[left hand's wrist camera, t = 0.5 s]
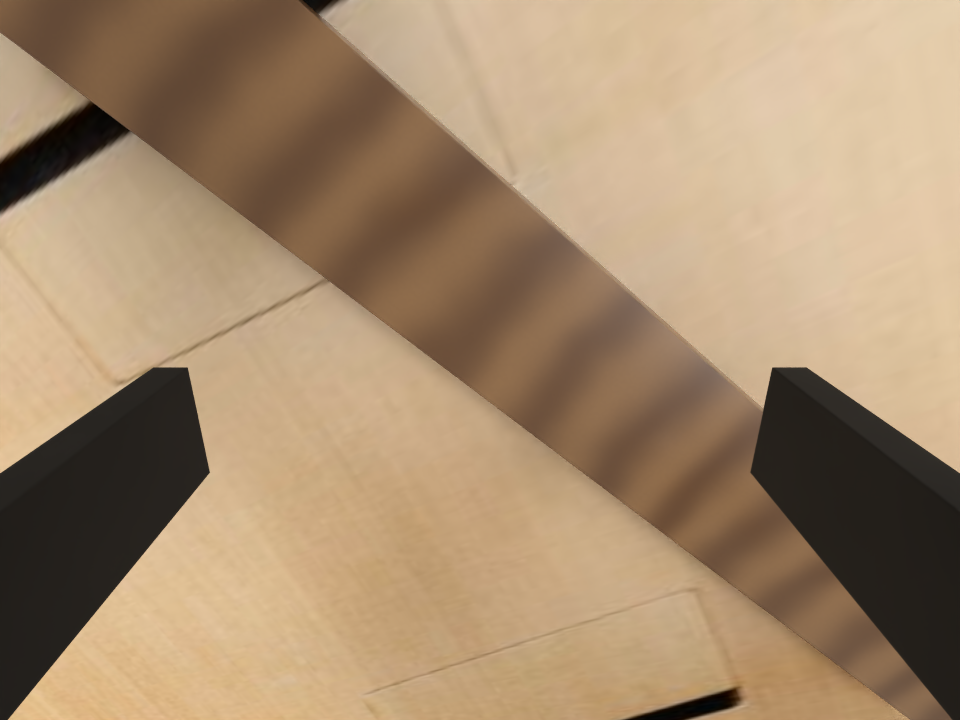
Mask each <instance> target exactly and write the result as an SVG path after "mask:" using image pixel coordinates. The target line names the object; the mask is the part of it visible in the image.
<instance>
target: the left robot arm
mask: <svg viewBox="0 0 960 720" xmlns="http://www.w3.org/2000/svg"><path fill="white" fill-rule="evenodd" d="M209 473H210V471H209V466H208V462H207V457H206V452H205V448H204V443H203V438H202V433H201V429H200V424H199V419H198V414H197V410H196V405H195V400H194V395H193V391H192V386H191V381H190V377H189V372H188V368H152V369H151V370H149V371H148V372H146V373H145V374H143V375H142V376H141V377H139V378H138V379H136V380H135V381H133V382H132V383H130V384H129V385H128V386H126V387H125V388H123V389H122V390H120V391H119V392H117V393H116V394H115V395H113V396H112V397H110V398H109V399H107V400H106V401H104V402H103V403H101V404H100V405H99V406H97V407H96V408H94V409H93V410H91V411H90V412H88V413H87V414H86V415H84V416H83V417H81V418H80V419H78V420H77V421H75V422H74V423H73V424H71V425H70V426H68V427H67V428H65V429H64V430H62V431H61V432H60V433H58V434H57V435H55V436H54V437H52V438H51V439H49V440H48V441H46V442H45V443H44V444H42V445H41V446H39V447H38V448H36V449H35V450H33V451H32V452H31V453H29V454H28V455H26V456H25V457H23V458H22V459H20V460H19V461H18V462H16V463H15V464H13V465H12V466H10V467H9V468H7V469H6V470H5V471H3V472H2V473H0V720H8V719H9V718H10V716H11V715H12V714H13V713H14V711H15V710H16V709H17V708H18V707H19V705H20V704H21V703H22V702H23V700H24V699H25V698H26V697H27V696H28V694H29V693H30V692H31V691H32V689H33V688H34V687H35V686H36V685H37V683H38V682H39V681H40V680H41V678H42V677H43V676H44V675H45V674H46V672H47V671H48V670H49V669H50V667H51V666H52V665H53V664H54V663H55V661H56V660H57V659H58V658H59V656H60V655H61V654H62V653H63V652H64V650H65V649H66V648H67V647H68V645H69V644H70V643H71V642H72V640H73V639H74V638H75V637H76V636H77V634H78V633H79V632H80V631H81V629H82V628H83V627H84V626H85V625H86V623H87V622H88V621H89V620H90V618H91V617H92V616H93V615H94V614H95V612H96V611H97V610H98V609H99V607H100V606H101V605H102V604H103V603H104V601H105V600H106V599H107V598H108V596H109V595H110V594H111V593H112V592H113V590H114V589H115V588H116V587H117V585H118V584H119V583H120V582H121V581H122V579H123V578H124V577H125V576H126V574H127V573H128V572H129V571H130V570H131V568H132V567H133V566H134V565H135V563H136V562H137V561H138V560H139V559H140V557H141V556H142V555H143V554H144V552H145V551H146V550H147V549H148V548H149V546H150V545H151V544H152V543H153V541H154V540H155V539H156V538H157V537H158V535H159V534H160V533H161V532H162V530H163V529H164V528H165V527H166V526H167V524H168V523H169V522H170V521H171V519H172V518H173V517H174V516H175V514H176V513H177V512H178V511H179V510H180V508H181V507H182V506H183V505H184V503H185V502H186V501H187V500H188V499H189V497H190V496H191V495H192V494H193V492H194V491H195V490H196V489H197V488H198V486H199V485H200V484H201V483H202V481H203V480H204V479H205V478H206V477H207V475H208V474H209ZM750 473H751V474H752V475H753V477H754V478H755V479H756V480H757V481H758V483H759V484H760V485H761V486H762V488H763V489H764V490H765V491H766V492H767V494H768V495H769V496H770V497H771V499H772V500H773V501H774V502H775V503H776V505H777V506H778V507H779V508H780V510H781V511H782V512H783V513H784V515H785V516H786V517H787V518H788V519H789V521H790V522H791V523H792V524H793V526H794V527H795V528H796V529H797V530H798V532H799V533H800V534H801V535H802V537H803V538H804V539H805V540H806V541H807V543H808V544H809V545H810V546H811V548H812V549H813V550H814V551H815V552H816V554H817V555H818V556H819V557H820V559H821V560H822V561H823V562H824V563H825V565H826V566H827V567H828V568H829V570H830V571H831V572H832V573H833V574H834V576H835V577H836V578H837V579H838V581H839V582H840V583H841V584H842V585H843V587H844V588H845V589H846V590H847V592H848V593H849V594H850V595H851V596H852V598H853V599H854V600H855V601H856V603H857V604H858V605H859V606H860V607H861V609H862V610H863V611H864V612H865V614H866V615H867V616H868V617H869V618H870V620H871V621H872V622H873V623H874V625H875V626H876V627H877V628H878V629H879V631H880V632H881V633H882V634H883V636H884V637H885V638H886V639H887V640H888V642H889V643H890V644H891V645H892V647H893V648H894V649H895V650H896V652H897V653H898V654H899V655H900V656H901V658H902V659H903V660H904V661H905V663H906V664H907V665H908V666H909V667H910V669H911V670H912V671H913V672H914V674H915V675H916V676H917V677H918V678H919V680H920V681H921V682H922V683H923V685H924V686H925V687H926V688H927V689H928V691H929V692H930V693H931V694H932V696H933V697H934V698H935V699H936V700H937V702H938V703H939V704H940V705H941V707H942V708H943V709H944V710H945V711H946V713H947V714H948V715H949V716H950V718H951V719H952V720H960V473H958V472H957V471H955V470H954V469H953V468H951V467H950V466H948V465H947V464H945V463H944V462H942V461H941V460H940V459H938V458H937V457H935V456H934V455H932V454H931V453H929V452H928V451H927V450H925V449H924V448H922V447H921V446H919V445H918V444H916V443H915V442H914V441H912V440H911V439H909V438H908V437H906V436H905V435H903V434H902V433H900V432H899V431H898V430H896V429H895V428H893V427H892V426H890V425H889V424H887V423H886V422H885V421H883V420H882V419H880V418H879V417H877V416H876V415H874V414H873V413H872V412H870V411H869V410H867V409H866V408H864V407H863V406H861V405H860V404H859V403H857V402H856V401H854V400H853V399H851V398H850V397H848V396H847V395H845V394H844V393H843V392H841V391H840V390H838V389H837V388H835V387H834V386H832V385H831V384H830V383H828V382H827V381H825V380H824V379H822V378H821V377H819V376H818V375H817V374H815V373H814V372H812V371H811V370H809V369H808V368H772V372H771V377H770V381H769V386H768V391H767V395H766V400H765V405H764V410H763V414H762V419H761V424H760V429H759V433H758V438H757V443H756V448H755V452H754V457H753V462H752V466H751V471H750Z"/></svg>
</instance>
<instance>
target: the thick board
mask: <svg viewBox="0 0 960 720" xmlns="http://www.w3.org/2000/svg"><path fill="white" fill-rule="evenodd" d="M0 33H2V34H3V35H4V36H6V37H7V38H8V39H10V40H11V41H12V42H14V43H15V44H16V45H18V46H19V47H20V48H22V49H23V50H24V51H26V52H27V53H28V54H30V55H31V56H32V57H34V58H35V59H36V60H37V61H39V62H40V63H41V64H43V65H44V66H45V67H47V68H48V69H49V70H51V71H52V72H53V73H55V74H56V75H57V76H59V77H60V78H61V79H63V80H64V81H65V82H67V83H68V84H69V85H71V86H72V87H73V88H75V89H76V90H77V91H79V92H80V93H81V94H83V95H84V96H85V97H86V98H88V99H89V100H90V101H92V102H93V103H94V104H96V105H97V106H98V107H100V108H101V109H102V110H104V111H105V112H106V113H108V114H109V115H110V116H112V117H113V118H114V119H116V120H117V121H118V122H120V123H121V124H122V125H124V126H125V127H126V128H128V129H129V130H130V131H131V132H133V133H134V134H135V135H137V136H138V137H139V138H141V139H142V140H143V141H145V142H146V143H147V144H149V145H150V146H151V147H153V148H154V149H155V150H157V151H158V152H159V153H161V154H162V155H163V156H165V157H166V158H167V159H169V160H170V161H171V162H173V163H174V164H175V165H177V166H178V167H179V168H180V169H182V170H183V171H184V172H186V173H187V174H188V175H190V176H191V177H192V178H194V179H195V180H196V181H198V182H199V183H200V184H202V185H203V186H204V187H206V188H207V189H208V190H210V191H211V192H212V193H214V194H215V195H216V196H218V197H219V198H220V199H222V200H223V201H224V202H226V203H227V204H228V205H229V206H231V207H232V208H233V209H235V210H236V211H237V212H239V213H240V214H241V215H243V216H244V217H245V218H247V219H248V220H249V221H251V222H252V223H253V224H255V225H256V226H257V227H259V228H260V229H261V230H263V231H264V232H265V233H267V234H268V235H269V236H271V237H272V238H273V239H274V240H276V241H277V242H278V243H280V244H281V245H282V246H284V247H285V248H286V249H288V250H289V251H290V252H292V253H293V254H294V255H296V256H297V257H298V258H300V259H301V260H302V261H304V262H305V263H306V264H308V265H309V266H310V267H312V268H313V269H314V270H316V271H317V272H318V273H320V274H321V275H322V276H323V277H325V278H326V279H327V280H329V281H330V282H331V283H333V284H334V285H335V286H337V287H338V288H339V289H341V290H342V291H343V292H345V293H346V294H347V295H349V296H350V297H351V298H353V299H354V300H355V301H357V302H358V303H359V304H361V305H362V306H363V307H365V308H366V309H367V310H369V311H370V312H371V313H372V314H374V315H375V316H376V317H378V318H379V319H380V320H382V321H383V322H384V323H386V324H387V325H388V326H390V327H391V328H392V329H394V330H395V331H396V332H398V333H399V334H400V335H402V336H403V337H404V338H406V339H407V340H408V341H410V342H411V343H412V344H414V345H415V346H416V347H417V348H419V349H420V350H421V351H423V352H424V353H425V354H427V355H428V356H429V357H431V358H432V359H433V360H435V361H436V362H437V363H439V364H440V365H441V366H443V367H444V368H445V369H447V370H448V371H449V372H451V373H452V374H453V375H455V376H456V377H457V378H459V379H460V380H461V381H463V382H464V383H465V384H466V385H468V386H469V387H470V388H472V389H473V390H474V391H476V392H477V393H478V394H480V395H481V396H482V397H484V398H485V399H486V400H488V401H489V402H490V403H492V404H493V405H494V406H496V407H497V408H498V409H500V410H501V411H502V412H504V413H505V414H506V415H508V416H509V417H510V418H512V419H513V420H514V421H515V422H517V423H518V424H519V425H521V426H522V427H523V428H525V429H526V430H527V431H529V432H530V433H531V434H533V435H534V436H535V437H537V438H538V439H539V440H541V441H542V442H543V443H545V444H546V445H547V446H549V447H550V448H551V449H553V450H554V451H555V452H557V453H558V454H559V455H560V456H562V457H563V458H564V459H566V460H567V461H568V462H570V463H571V464H572V465H574V466H575V467H576V468H578V469H579V470H580V471H582V472H583V473H584V474H586V475H587V476H588V477H590V478H591V479H592V480H594V481H595V482H596V483H598V484H599V485H600V486H602V487H603V488H604V489H606V490H607V491H608V492H609V493H611V494H612V495H613V496H615V497H616V498H617V499H619V500H620V501H621V502H623V503H624V504H625V505H627V506H628V507H629V508H631V509H632V510H633V511H635V512H636V513H637V514H639V515H640V516H641V517H643V518H644V519H645V520H647V521H648V522H649V523H651V524H652V525H653V526H654V527H656V528H657V529H658V530H660V531H661V532H662V533H664V534H665V535H666V536H668V537H669V538H670V539H672V540H673V541H674V542H676V543H677V544H678V545H680V546H681V547H682V548H684V549H685V550H686V551H688V552H689V553H690V554H692V555H693V556H694V557H696V558H697V559H698V560H700V561H701V562H702V563H703V564H705V565H706V566H707V567H709V568H710V569H711V570H713V571H714V572H715V573H717V574H718V575H719V576H721V577H722V578H723V579H725V580H726V581H727V582H729V583H730V584H731V585H733V586H734V587H735V588H737V589H738V590H739V591H741V592H742V593H743V594H745V595H746V596H747V597H749V598H750V599H751V600H752V601H754V602H755V603H756V604H758V605H759V606H760V607H762V608H763V609H764V610H766V611H767V612H768V613H770V614H771V615H772V616H774V617H775V618H776V619H778V620H779V621H780V622H782V623H783V624H784V625H786V626H787V627H788V628H790V629H791V630H792V631H794V632H795V633H796V634H797V635H799V636H800V637H801V638H803V639H804V640H805V641H807V642H808V643H809V644H811V645H812V646H813V647H815V648H816V649H817V650H819V651H820V652H821V653H823V654H824V655H825V656H827V657H828V658H829V659H831V660H832V661H833V662H835V663H836V664H837V665H839V666H840V667H841V668H843V669H844V670H845V671H846V672H848V673H849V674H850V675H852V676H853V677H854V678H856V679H857V680H858V681H860V682H861V683H862V684H864V685H865V686H866V687H868V688H869V689H870V690H872V691H873V692H874V693H876V694H877V695H878V696H880V697H881V698H882V699H884V700H885V701H886V702H888V703H889V704H890V705H892V706H893V707H894V708H895V709H897V710H898V711H899V712H901V713H902V714H903V715H905V716H906V717H907V718H909V719H910V720H952V719H951V718H950V716H949V715H948V714H947V713H946V711H945V710H944V709H943V708H942V707H941V705H940V704H939V703H938V702H937V700H936V699H935V698H934V697H933V696H932V694H931V693H930V692H929V691H928V689H927V688H926V687H925V686H924V685H923V683H922V682H921V681H920V680H919V678H918V677H917V676H916V675H915V674H914V672H913V671H912V670H911V669H910V667H909V666H908V665H907V664H906V663H905V661H904V660H903V659H902V658H901V656H900V655H899V654H898V653H897V652H896V650H895V649H894V648H893V647H892V645H891V644H890V643H889V642H888V640H887V639H886V638H885V637H884V636H883V634H882V633H881V632H880V631H879V629H878V628H877V627H876V626H875V625H874V623H873V622H872V621H871V620H870V618H869V617H868V616H867V615H866V614H865V612H864V611H863V610H862V609H861V607H860V606H859V605H858V604H857V603H856V601H855V600H854V599H853V598H852V596H851V595H850V594H849V593H848V592H847V590H846V589H845V588H844V587H843V585H842V584H841V583H840V582H839V581H838V579H837V578H836V577H835V576H834V574H833V573H832V572H831V571H830V570H829V568H828V567H827V566H826V565H825V563H824V562H823V561H822V560H821V559H820V557H819V556H818V555H817V554H816V552H815V551H814V550H813V549H812V548H811V546H810V545H809V544H808V543H807V541H806V540H805V539H804V538H803V537H802V535H801V534H800V533H799V532H798V530H797V529H796V528H795V527H794V526H793V524H792V523H791V522H790V521H789V519H788V518H787V517H786V516H785V515H784V513H783V512H782V511H781V510H780V508H779V507H778V506H777V505H776V503H775V502H774V501H773V500H772V499H771V497H770V496H769V495H768V494H767V492H766V491H765V490H764V489H763V488H762V486H761V485H760V484H759V483H758V481H757V480H756V479H755V478H754V477H753V475H752V474H751V473H750V471H751V466H752V462H753V457H754V452H755V448H756V443H757V438H758V433H759V429H760V424H761V419H762V414H763V410H764V409H763V408H762V407H760V406H759V405H758V404H757V403H756V402H755V401H754V400H753V399H751V398H750V397H749V396H748V395H747V394H746V393H745V392H744V391H742V390H741V389H740V388H739V387H738V386H737V385H736V384H735V383H733V382H732V381H731V380H730V379H729V378H728V377H727V376H725V375H724V374H723V373H722V372H721V371H720V370H719V369H718V368H716V367H715V366H714V365H713V364H712V363H711V362H710V361H709V360H707V359H706V358H705V357H704V356H703V355H702V354H701V353H700V352H698V351H697V350H696V349H695V348H694V347H693V346H692V345H691V344H689V343H688V342H687V341H686V340H685V339H684V338H683V337H682V336H680V335H679V334H678V333H677V332H676V331H675V330H674V329H673V328H671V327H670V326H669V325H668V324H667V323H666V322H665V321H663V320H662V319H661V318H660V317H659V316H658V315H657V314H656V313H654V312H653V311H652V310H651V309H650V308H649V307H648V306H647V305H645V304H644V303H643V302H642V301H641V300H640V299H639V298H638V297H636V296H635V295H634V294H633V293H632V292H631V291H630V290H629V289H627V288H626V287H625V286H624V285H623V284H622V283H621V282H620V281H618V280H617V279H616V278H615V277H614V276H613V275H612V274H611V273H609V272H608V271H607V270H606V269H605V268H604V267H603V266H601V265H600V264H599V263H598V262H597V261H596V260H595V259H594V258H592V257H591V256H590V255H589V254H588V253H587V252H586V251H585V250H583V249H582V248H581V247H580V246H579V245H578V244H577V243H576V242H574V241H573V240H572V239H571V238H570V237H569V236H568V235H567V234H565V233H564V232H563V231H562V230H561V229H560V228H559V227H558V226H556V225H555V224H554V223H553V222H552V221H551V220H550V219H549V218H547V217H546V216H545V215H544V214H543V213H542V212H541V211H539V210H538V209H537V208H536V207H535V206H534V205H533V204H532V203H530V202H529V201H528V200H527V199H526V198H525V197H524V196H523V195H521V194H520V193H519V192H518V191H517V190H516V189H515V188H514V187H512V186H511V185H510V184H509V183H508V182H507V181H506V180H505V179H503V178H502V177H501V176H500V175H499V174H498V173H497V172H496V171H494V170H493V169H492V168H491V167H490V166H489V165H488V164H487V163H485V162H484V161H483V160H482V159H481V158H480V157H479V156H478V155H476V154H475V153H474V152H473V151H472V150H471V149H470V148H468V147H467V146H466V145H465V144H464V143H463V142H462V141H461V140H459V139H458V138H457V137H456V136H455V135H454V134H453V133H452V132H450V131H449V130H448V129H447V128H446V127H445V126H444V125H443V124H441V123H440V122H439V121H438V120H437V119H436V118H435V117H434V116H432V115H431V114H430V113H429V112H428V111H427V110H426V109H425V108H423V107H422V106H421V105H420V104H419V103H418V102H417V101H416V100H414V99H413V98H412V97H411V96H410V95H409V94H408V93H406V92H405V91H404V90H403V89H402V88H401V87H400V86H399V85H397V84H396V83H395V82H394V81H393V80H392V79H391V78H390V77H388V76H387V75H386V74H385V73H384V72H383V71H382V70H381V69H379V68H378V67H377V66H376V65H375V64H374V63H373V62H372V61H370V60H369V59H368V58H367V57H366V56H365V55H364V54H363V53H361V52H360V51H359V50H358V49H357V48H356V47H355V46H354V45H352V44H351V43H350V42H349V41H348V40H347V39H346V38H344V37H343V36H342V35H341V34H340V33H339V32H338V31H337V30H335V29H334V28H333V27H332V26H331V25H330V24H329V23H328V22H326V21H325V20H324V19H323V18H322V17H321V16H320V15H319V14H317V13H316V12H315V11H314V10H313V9H312V8H311V7H310V6H308V5H307V4H306V3H305V2H304V1H303V0H0Z"/></svg>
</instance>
